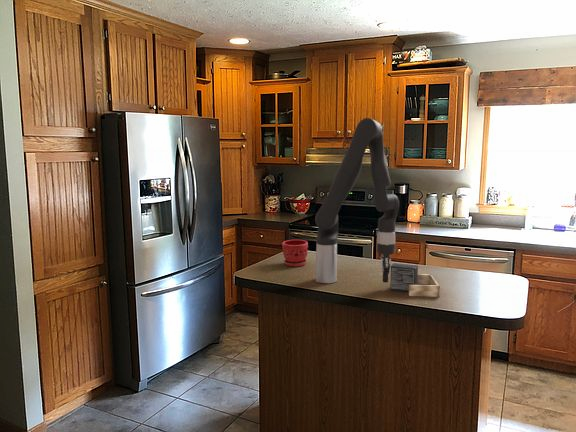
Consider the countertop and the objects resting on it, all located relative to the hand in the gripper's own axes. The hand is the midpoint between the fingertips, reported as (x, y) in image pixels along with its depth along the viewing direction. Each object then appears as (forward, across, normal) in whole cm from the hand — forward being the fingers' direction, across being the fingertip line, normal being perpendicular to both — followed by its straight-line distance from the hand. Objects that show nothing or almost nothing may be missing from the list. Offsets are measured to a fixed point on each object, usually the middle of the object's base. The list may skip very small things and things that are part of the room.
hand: (385, 281), depth 197 cm
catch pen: (+3, 0, +14) cm, 15 cm away
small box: (+3, 0, +8) cm, 8 cm away
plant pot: (+3, -38, -42) cm, 57 cm away
